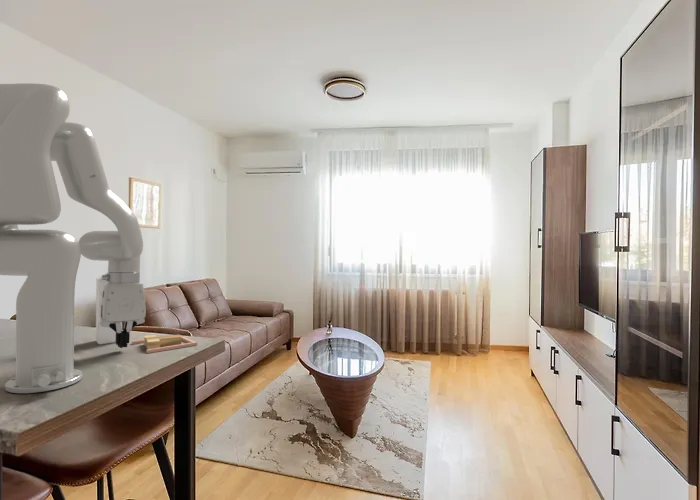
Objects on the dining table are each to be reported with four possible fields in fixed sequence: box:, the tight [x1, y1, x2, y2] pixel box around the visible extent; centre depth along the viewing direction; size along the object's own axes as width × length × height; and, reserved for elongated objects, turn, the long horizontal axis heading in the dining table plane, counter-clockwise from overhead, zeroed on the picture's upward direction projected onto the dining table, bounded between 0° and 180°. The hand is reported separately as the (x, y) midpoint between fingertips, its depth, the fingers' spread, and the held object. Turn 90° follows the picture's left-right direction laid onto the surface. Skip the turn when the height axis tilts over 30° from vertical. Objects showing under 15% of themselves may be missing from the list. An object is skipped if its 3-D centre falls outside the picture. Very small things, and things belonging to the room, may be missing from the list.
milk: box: [95, 271, 123, 345], centre depth 118 cm, size 6×6×22 cm
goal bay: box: [131, 334, 198, 354], centre depth 115 cm, size 14×14×1 cm
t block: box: [143, 334, 182, 350], centre depth 114 cm, size 9×9×2 cm
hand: (122, 346), depth 107 cm, fingers closed
